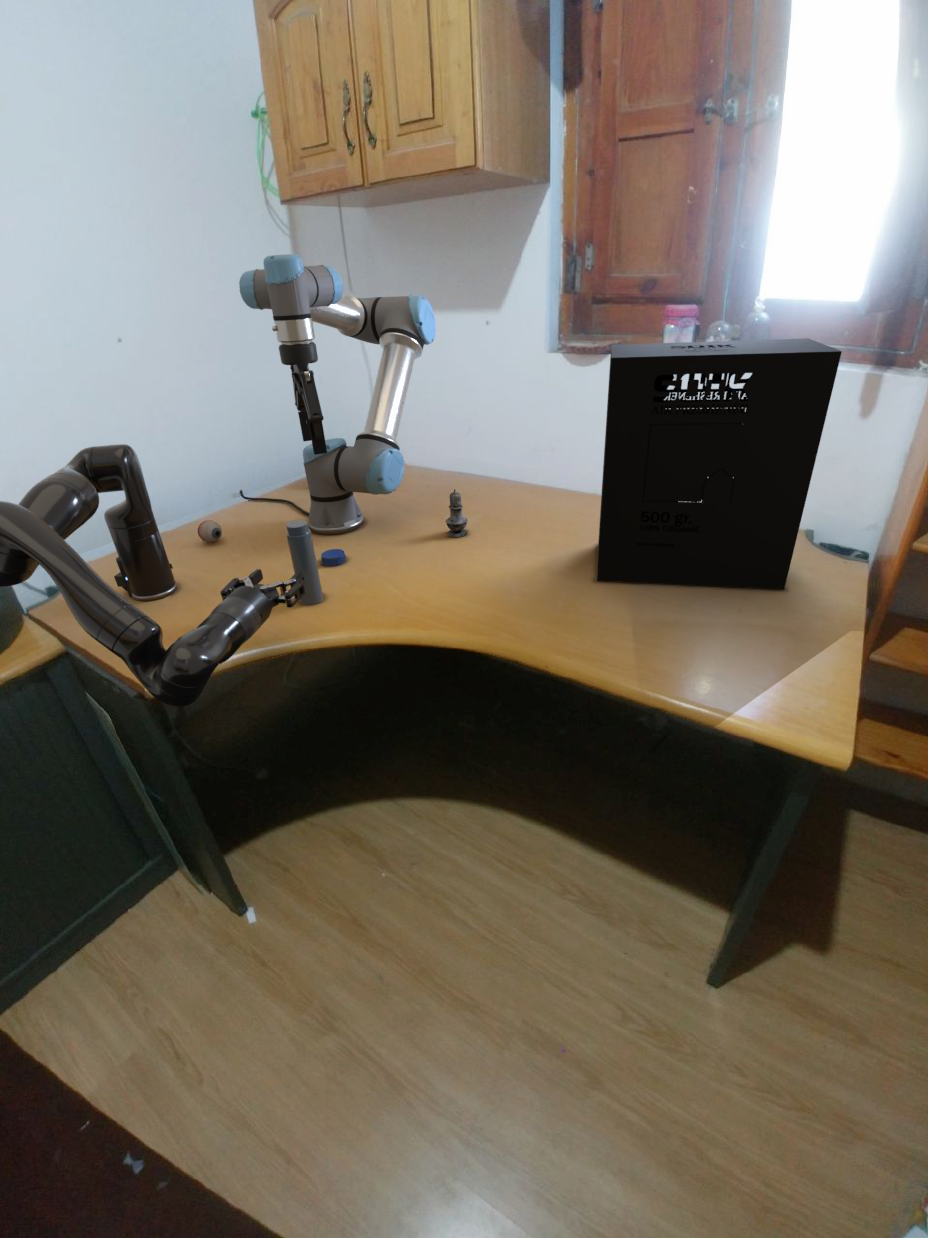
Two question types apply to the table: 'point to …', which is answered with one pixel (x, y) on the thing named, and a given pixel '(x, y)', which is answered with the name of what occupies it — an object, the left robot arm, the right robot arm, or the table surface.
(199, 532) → the eyeball
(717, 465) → the cardboard box
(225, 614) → the left robot arm
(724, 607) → the table surface
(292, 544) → the jar
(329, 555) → the lid
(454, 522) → the salt shaker
